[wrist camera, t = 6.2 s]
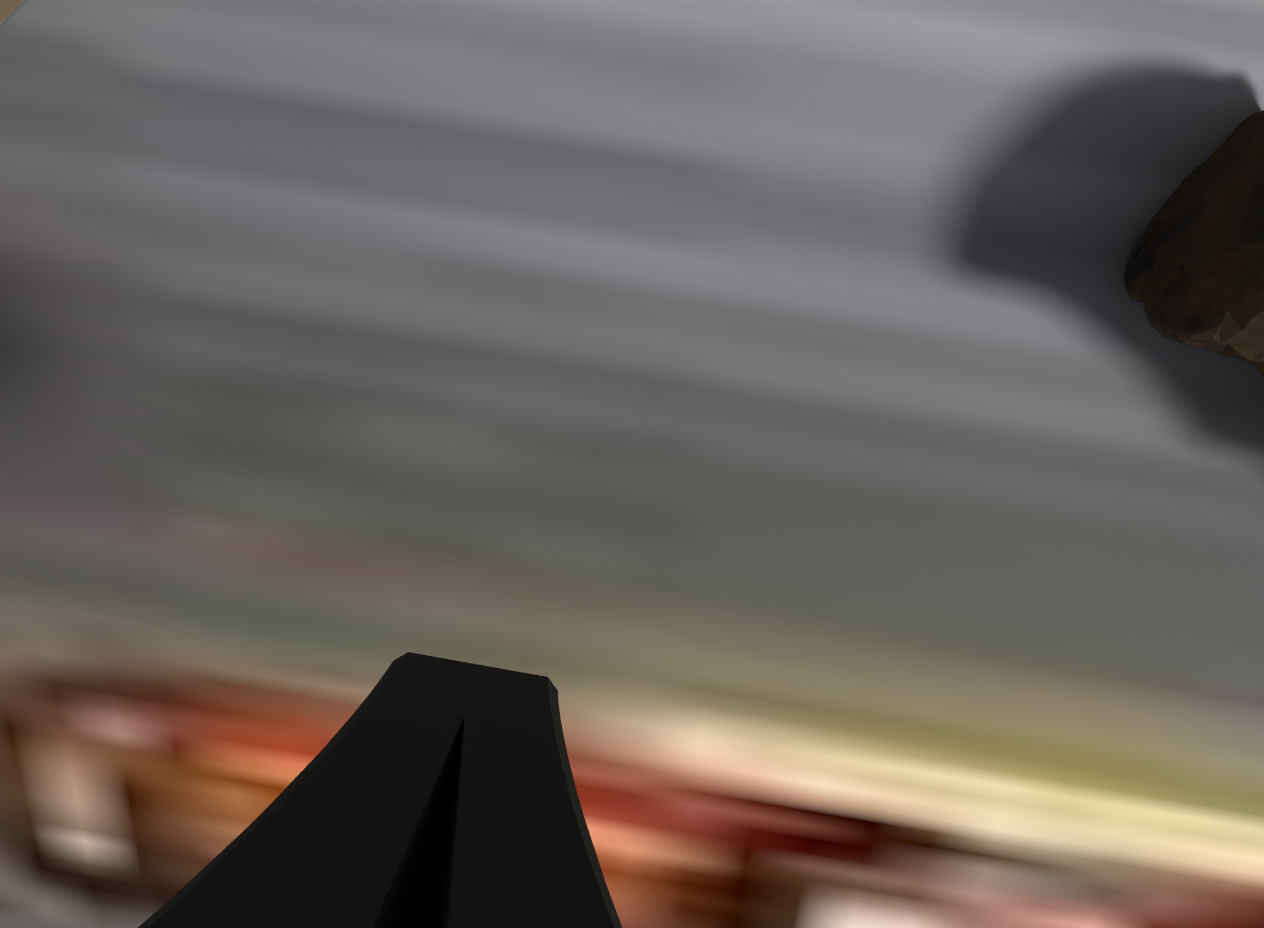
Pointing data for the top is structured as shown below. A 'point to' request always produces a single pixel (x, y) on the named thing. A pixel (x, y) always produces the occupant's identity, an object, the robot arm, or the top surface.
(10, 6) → the board
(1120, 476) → the top surface
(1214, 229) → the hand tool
